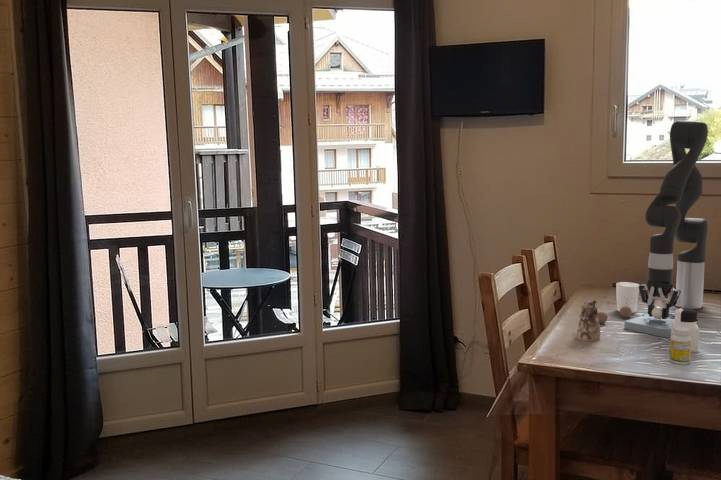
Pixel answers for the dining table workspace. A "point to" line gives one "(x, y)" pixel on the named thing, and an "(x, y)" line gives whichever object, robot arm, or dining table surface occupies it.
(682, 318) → the medicine bottle
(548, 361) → the dining table surface
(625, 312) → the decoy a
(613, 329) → the dining table surface
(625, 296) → the white cup
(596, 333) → the figurine
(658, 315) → the ball
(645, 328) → the blue-grey square plate
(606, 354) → the dining table surface
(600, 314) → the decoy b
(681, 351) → the supplement bottle
